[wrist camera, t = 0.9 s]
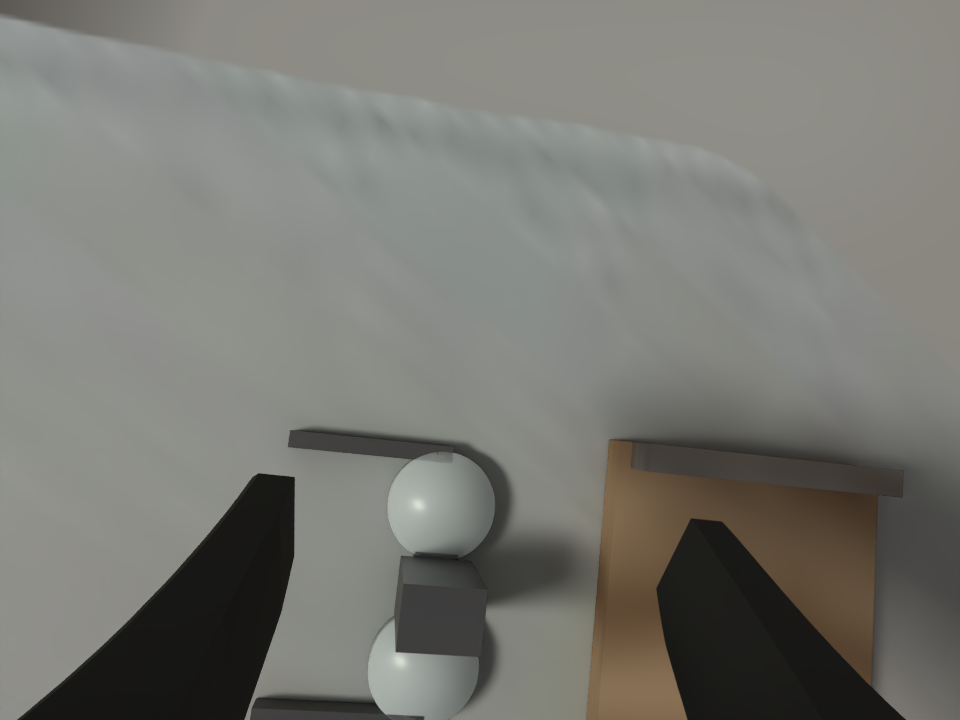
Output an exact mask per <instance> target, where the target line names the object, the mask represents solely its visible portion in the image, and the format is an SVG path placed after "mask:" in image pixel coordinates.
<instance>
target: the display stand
mask: <svg viewBox="0 0 960 720" xmlns="http://www.w3.org/2000/svg"><path fill="white" fill-rule="evenodd" d="M878 495H882V496H892V497H902V495H903V471H901V470H892V469H883V468H873V467H864V466H855V465H846V464H836V463H827V462H818V461H808V460H799V459H790V458H781V457H771V456H762V455H753V454H743V453H734V452H725V451H715V450H706V449H697V448H688V447H678V446H669V445H660V444H650V443H638V442H627V441H618V440H609V450H608V462H607V475H606V487H605V499H604V511H603V523H602V536H601V548H600V560H599V572H598V585H597V597H596V609H595V621H594V633H593V646H592V658H591V670H590V682H589V694H588V707H587V719H586V720H687V717H686V713H685V710H684V707H683V703H682V700H681V697H680V693H679V690H678V687H677V683H676V680H675V676H674V673H673V669H672V666H671V662H670V659H669V655H668V652H667V648H666V645H665V640H664V634H663V629H662V623H661V618H660V611H659V604H658V598H657V591H656V588H657V586H658V584H659V582H660V580H661V578H662V576H663V574H664V572H665V570H666V568H667V566H668V564H669V561H670V559H671V557H672V555H673V553H674V551H675V549H676V547H677V545H678V543H679V541H680V539H681V537H682V535H683V533H684V531H685V529H686V527H687V525H688V523H689V521H690V519H691V518H694V519H703V520H713V521H722V522H723V523H724V524H725V525H726V526H727V527H728V528H729V529H730V531H731V532H732V533H733V534H734V535H735V536H736V537H737V538H738V540H739V541H740V542H741V543H742V544H743V545H744V547H745V548H746V549H747V550H748V551H749V552H750V554H751V555H752V556H753V557H754V558H755V559H756V561H757V562H758V563H759V564H760V565H761V566H762V568H763V569H764V570H765V571H766V572H767V573H768V575H769V576H770V577H771V578H772V579H773V580H774V582H775V583H776V584H777V585H778V586H779V587H780V589H781V590H782V591H783V592H784V593H785V594H786V595H787V597H788V598H789V599H790V600H791V601H792V602H793V604H794V605H795V606H796V607H797V608H798V609H799V610H800V611H801V613H802V614H803V615H804V616H805V617H806V618H807V619H808V620H809V622H810V623H811V624H812V625H813V626H814V627H815V628H816V629H817V630H818V631H819V633H820V634H821V635H822V636H823V637H824V638H825V639H826V640H827V641H828V642H829V643H830V644H831V646H832V647H833V648H834V649H835V650H836V651H837V652H838V653H839V654H840V655H841V656H842V657H843V658H844V659H845V660H846V661H847V662H848V663H849V664H850V665H851V666H852V667H853V669H854V670H855V671H856V672H857V673H858V674H859V675H860V676H861V677H862V678H863V679H864V680H865V681H866V682H867V683H868V684H869V685H870V686H871V678H872V649H873V619H874V590H875V561H876V531H877V502H878Z"/></svg>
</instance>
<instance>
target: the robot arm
mask: <svg viewBox="0 0 960 720" xmlns="http://www.w3.org/2000/svg"><path fill="white" fill-rule="evenodd" d="M294 496H295V477H288V476H279V475H269V474H260V473H259V474H257V475H255V476H254V477H252V479H251V480H250V481H249V483H248V484H247V486H246V487H245V488H244V490H243V491H242V492H241V494H240V495H239V496H238V498H237V499H236V500H235V502H234V503H233V504H232V506H231V507H230V508H229V510H228V511H227V512H226V513H225V515H224V516H223V517H222V518H221V520H220V521H219V522H218V523H217V524H216V526H215V527H214V528H213V529H212V530H211V532H210V533H209V534H208V535H207V537H206V538H205V539H204V540H203V541H202V542H201V543H200V545H199V546H198V547H197V548H196V549H195V550H194V551H193V553H192V554H191V555H190V556H189V557H188V558H187V559H186V561H185V562H184V563H183V564H182V565H181V566H180V567H179V568H178V570H177V571H176V572H175V573H174V574H173V575H172V576H171V577H170V578H169V579H168V581H167V582H166V583H165V584H164V585H163V586H162V587H161V588H160V589H159V590H158V591H157V592H156V593H155V594H154V595H153V596H152V597H151V598H150V599H149V600H148V601H147V602H146V603H145V604H144V605H143V606H142V607H141V608H140V609H139V610H138V611H137V613H136V614H135V615H134V616H133V617H132V618H131V619H130V620H129V621H128V622H127V623H126V624H125V625H124V626H123V627H122V628H120V629H119V630H118V631H117V632H116V633H115V634H114V635H113V636H112V637H111V638H110V639H109V640H108V641H107V642H106V643H105V644H104V645H103V646H102V647H101V648H99V649H98V650H97V651H96V652H95V653H94V654H93V655H92V656H91V657H90V658H89V659H87V660H86V661H85V662H84V663H83V664H82V665H81V666H80V667H79V668H77V669H76V670H75V671H74V672H73V673H72V674H71V675H70V676H69V677H67V678H66V679H65V680H64V681H63V682H62V683H60V684H59V685H58V686H57V687H56V688H54V689H53V690H52V691H51V692H50V693H49V694H47V695H46V696H45V697H44V698H43V699H41V700H40V701H39V702H38V703H37V704H36V705H34V706H33V707H32V708H31V709H30V710H28V711H27V712H26V713H25V714H24V715H23V716H21V717H20V718H19V719H18V720H244V719H245V716H246V713H247V710H248V707H249V704H250V702H251V699H252V696H253V693H254V690H255V687H256V684H257V681H258V678H259V676H260V673H261V670H262V667H263V664H264V661H265V658H266V655H267V652H268V649H269V647H270V644H271V641H272V638H273V635H274V632H275V629H276V626H277V623H278V620H279V617H280V614H281V611H282V606H283V602H284V598H285V594H286V590H287V585H288V581H289V576H290V572H291V568H292V563H293V559H294ZM656 591H657V598H658V604H659V611H660V618H661V623H662V629H663V634H664V640H665V645H666V648H667V652H668V655H669V659H670V662H671V666H672V669H673V673H674V676H675V680H676V683H677V687H678V690H679V693H680V697H681V700H682V703H683V707H684V710H685V713H686V717H687V720H906V719H904V718H903V717H902V716H901V715H900V714H899V713H898V712H897V711H896V710H895V709H894V708H893V707H891V706H890V705H889V704H888V703H887V702H886V701H885V700H884V699H883V698H882V697H881V696H880V695H879V694H878V693H877V692H876V691H875V690H874V689H873V688H872V687H871V686H870V685H869V684H868V683H867V682H866V681H865V680H864V679H863V678H862V677H861V676H860V675H859V674H858V673H857V672H856V671H855V670H854V669H853V667H852V666H851V665H850V664H849V663H848V662H847V661H846V660H845V659H844V658H843V657H842V656H841V655H840V654H839V653H838V652H837V651H836V650H835V649H834V648H833V647H832V646H831V644H830V643H829V642H828V641H827V640H826V639H825V638H824V637H823V636H822V635H821V634H820V633H819V631H818V630H817V629H816V628H815V627H814V626H813V625H812V624H811V623H810V622H809V620H808V619H807V618H806V617H805V616H804V615H803V614H802V613H801V611H800V610H799V609H798V608H797V607H796V606H795V605H794V604H793V602H792V601H791V600H790V599H789V598H788V597H787V595H786V594H785V593H784V592H783V591H782V590H781V589H780V587H779V586H778V585H777V584H776V583H775V582H774V580H773V579H772V578H771V577H770V576H769V575H768V573H767V572H766V571H765V570H764V569H763V568H762V566H761V565H760V564H759V563H758V562H757V561H756V559H755V558H754V557H753V556H752V555H751V554H750V552H749V551H748V550H747V549H746V548H745V547H744V545H743V544H742V543H741V542H740V541H739V540H738V538H737V537H736V536H735V535H734V534H733V533H732V532H731V531H730V529H729V528H728V527H727V526H726V525H725V524H724V523H723V522H722V521H713V520H703V519H694V518H691V519H690V521H689V523H688V525H687V527H686V529H685V531H684V533H683V535H682V537H681V539H680V541H679V543H678V545H677V547H676V549H675V551H674V553H673V555H672V557H671V559H670V561H669V564H668V566H667V568H666V570H665V572H664V574H663V576H662V578H661V580H660V582H659V584H658V586H657V588H656Z"/></svg>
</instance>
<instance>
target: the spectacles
mask: <svg viewBox="0 0 960 720" xmlns="http://www.w3.org/2000/svg"><path fill="white" fill-rule="evenodd" d="M288 447H293V448H303V449H313V450H323V451H333V452H343V453H353V454H363V455H373V456H384V457H394V458H404V459H412V460H411V461H409V462H408V463H407V464H406V465H405V466H404V467H403V468H402V469H401V470H400V471H399V472H398V474H397V475H396V477H395V479H394V481H393V483H392V485H391V488H390V491H389V496H388V518H389V522H390V525H391V528H392V531H393V533H394V535H395V536H396V538H397V539H398V541H399V542H400V543H401V544H402V545H403V546H404V547H405V548H406V549H407V550H408V551H409V552H411V553H412V554H413V557H410V556H401V559H400V568H399V576H398V585H397V594H396V602H395V611H394V616H393V617H392V618H391V619H389V620H388V621H387V622H386V623H385V624H384V625H383V627H382V628H381V629H380V630H379V632H378V634H377V635H376V637H375V639H374V641H373V644H372V647H371V650H370V655H369V663H368V682H369V687H370V691H371V694H372V696H373V698H374V700H375V702H376V704H366V703H345V702H324V701H303V700H282V699H261V698H256V700H255V702H254V705H253V707H252V710H251V717H250V720H449V719H450V718H452V717H453V716H455V715H456V714H457V713H458V712H459V711H460V710H461V709H462V708H463V707H464V706H465V705H466V703H467V702H468V701H469V699H470V697H471V696H472V694H473V691H474V689H475V687H476V683H477V680H478V673H479V659H478V657H481V654H482V644H483V634H484V624H485V614H486V604H487V594H488V589H487V587H486V586H485V584H484V582H483V580H482V579H481V577H480V575H479V574H478V572H477V570H476V569H475V567H474V565H473V564H472V562H471V561H461V560H458V558H460V557H463V556H465V555H466V554H468V553H470V552H471V551H473V550H474V549H475V548H476V547H477V546H478V545H479V544H480V543H481V542H482V541H483V540H484V538H485V537H486V535H487V534H488V532H489V530H490V528H491V525H492V522H493V519H494V514H495V496H494V492H493V488H492V486H491V483H490V481H489V479H488V477H487V476H486V474H485V473H484V471H483V470H482V469H481V468H480V467H479V466H478V465H477V464H476V463H474V462H473V461H471V460H470V459H468V458H466V457H464V456H462V455H460V454H457V453H454V452H453V451H454V447H452V446H443V445H434V444H424V443H414V442H404V441H395V440H385V439H375V438H365V437H355V436H346V435H336V434H326V433H316V432H307V431H297V430H290V436H289V443H288Z"/></svg>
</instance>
